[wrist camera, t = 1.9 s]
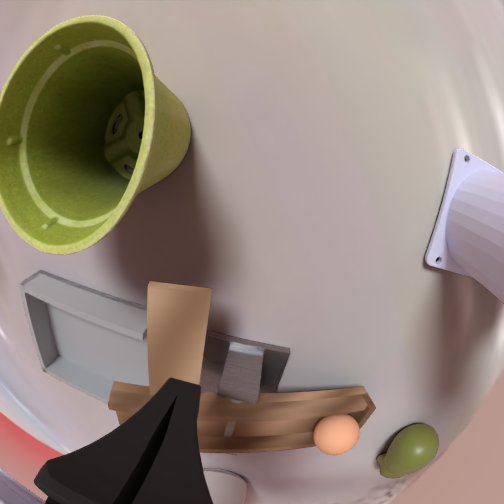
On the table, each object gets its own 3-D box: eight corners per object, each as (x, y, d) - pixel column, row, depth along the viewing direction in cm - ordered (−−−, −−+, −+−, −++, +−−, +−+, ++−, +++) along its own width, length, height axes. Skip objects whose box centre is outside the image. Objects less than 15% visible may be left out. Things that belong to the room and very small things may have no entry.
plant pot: (74, 181, 17) (-20, 208, 9) (116, 54, 14) (27, 19, 6) (184, 231, 17) (112, 296, 9) (244, 87, 14) (205, 26, 6)
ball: (342, 397, 19) (375, 422, 16) (326, 422, 20) (355, 446, 18) (313, 418, 17) (349, 448, 14) (297, 442, 18) (329, 470, 15)
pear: (453, 452, 16) (409, 481, 21) (441, 411, 21) (404, 448, 26) (406, 464, 17) (369, 489, 22) (398, 419, 21) (366, 454, 26)
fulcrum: (289, 348, 20) (290, 397, 15) (262, 418, 23) (257, 461, 18) (207, 330, 20) (189, 375, 15) (197, 404, 23) (184, 445, 18)
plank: (406, 300, 16) (428, 321, 14) (336, 425, 21) (345, 446, 19) (102, 272, 13) (85, 298, 10) (123, 424, 17) (119, 449, 15)
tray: (159, 310, 20) (142, 333, 17) (159, 397, 23) (148, 419, 20) (40, 269, 20) (19, 283, 17) (57, 354, 23) (43, 370, 21)
